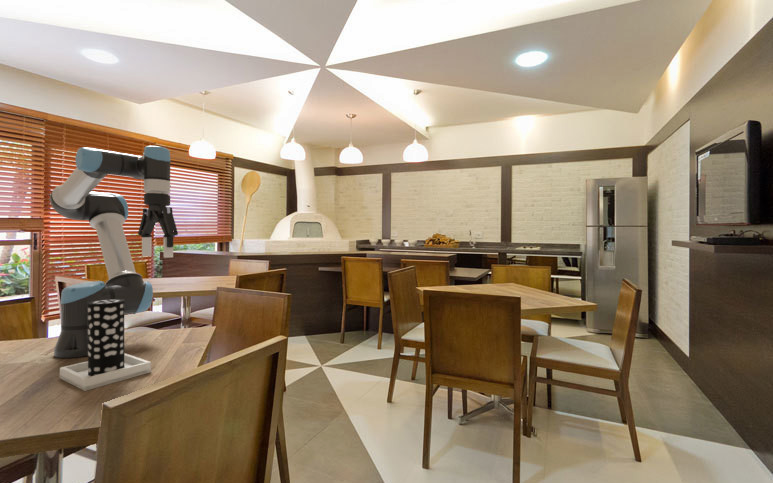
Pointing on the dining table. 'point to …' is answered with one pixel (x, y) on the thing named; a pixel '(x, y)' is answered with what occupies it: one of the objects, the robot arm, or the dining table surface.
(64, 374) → the tray
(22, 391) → the dining table surface
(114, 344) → the white-spotted black cylinder
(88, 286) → the robot arm
